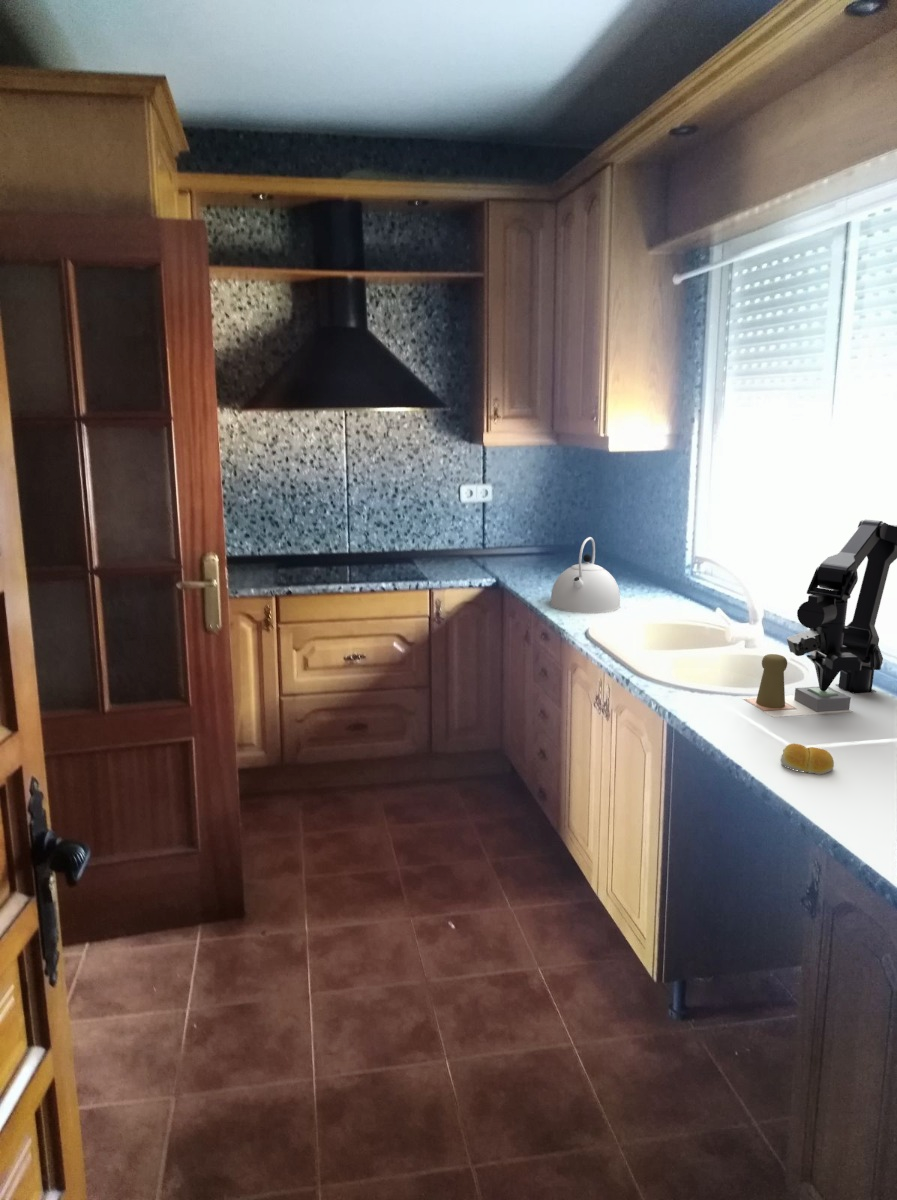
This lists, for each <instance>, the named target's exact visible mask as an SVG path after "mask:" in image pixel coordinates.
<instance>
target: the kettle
mask: <svg viewBox="0 0 897 1200" xmlns="http://www.w3.org/2000/svg"><path fill="white" fill-rule="evenodd" d="M588 541H590V542H591V545H592V555H590V553H589V554H588V553H585V554H584V555H583V551H584V548H585V545H586V543H587V542H588ZM578 556H579V557H578V563H577V564H573V565H571V566H570V567H568V568H566V569H564V571H563V572H562V573H560V574H559V575H558V576H557V579H555V582H554V583H553V586H552V588H551V589H552V590H551V594H550V603H549V604H550V606H551V607H552V608H555V609H557V610H560V611H565V612H570V613H578V614H579V613H580V614H606V613H612V612H613V613H614V612H616V611H618V610H619V608H620V609H621V593H620V588H619V584H618V583H617V581H616V579H615V577H614V576H613V575H612V574H611V573H610V572H609V571H608V570H606V568H604V567H602V566H600V565H598V564H595V559H596V543H595V540H594V538H593V537H591V536H588V537H586V539H584V540H583V542H582V543H581V546H580V550H579V555H578ZM582 556H583V557H582ZM582 558H583V559H582ZM582 560H583V561H584V562H582Z"/></svg>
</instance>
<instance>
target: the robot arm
mask: <svg viewBox="0 0 897 1200" xmlns="http://www.w3.org/2000/svg"><path fill="white" fill-rule="evenodd" d="M865 559H867V562H866V566H865V570H864V574H863V577H862V582H861V584H860V585H861V586H860V589H859V592H858V593H859V594H858V597H857V601H856V605H855V609H854V614H853V616H852V617H853V618H852V620H851V621H850V622H849V623H848V624H847V625H846V619H847V609H848V604H849V603H848V600H849V599H850V598H851V594H852V592H853V591H854V588H855V587H856V584H857V583H858V582H859V581H858V579H859V577H858V568H859V567H860V565H861V564H862V563H863V562H864V561H865ZM896 559H897V525H895V524H888V523H886V522H883V520H874V519H864V520H862V519H861V520H860V521H859V523H858V526H857V529H856V530H855V531H854V533H852V536H850V537H849V539H848V541H846V543H845V544H844V546H843V547H842V548H841V550H840V551H838V553H837V554H833V555H831V556H827V557H826V558H825V559H824V560H823V561H822V562H821V563H820V564H819V565H818V566H817V567H816V569H815V571H814V574H813V576H812V578H811V581H810V583H809V586H808V587H807V590H806V594H807V595H808V599H807V601H804V602H803V603H802V604H800V606H799V607H798V609H797V613H796V614H797V615H796V616H797V619H798V621H799V623H800V624H801V625H802V626H803V627H805V628H807V629H809V630H806V631H801V632H798V633H795V634H793V635H789V636H787V638H786V641H787V642H786V643H787V645H788V649H789V652H790V653H793V654H794V655H795V656H796V657H801V656H802V657H803V656H804V655H806V654H807V655H806V658H808V659H809V660H810V661H811V662H812V663H813V666H814V669H815V672H816V677H817V682H818V687H820V690H822V691H826V690H827V689H828V687H831V685H832V683H833V681H834V680H835V679H836V678H837V676H838V674H839V680H838V683H837V684H835V687H838V688H839V689H841V690H844V691H847V692H849V693H851V694H865V693H876V692H877V691H876V690H875V689H873V684H874V673H875V671H880V670H881V669H882V665H883V661H884V657H883V654H882V652H881V649H880V647H879V643H880V637H879V634H878V632H877V631H878V630H877V629H876V621H877V618H878V613H879V609H880V606H881V603H882V602H881V601H882V597H883V595H884V590H885V585H886V581H887V578H888V574H889V569H890V566H891V564H892V563H894V561H896ZM808 653H809V654H808Z"/></svg>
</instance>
